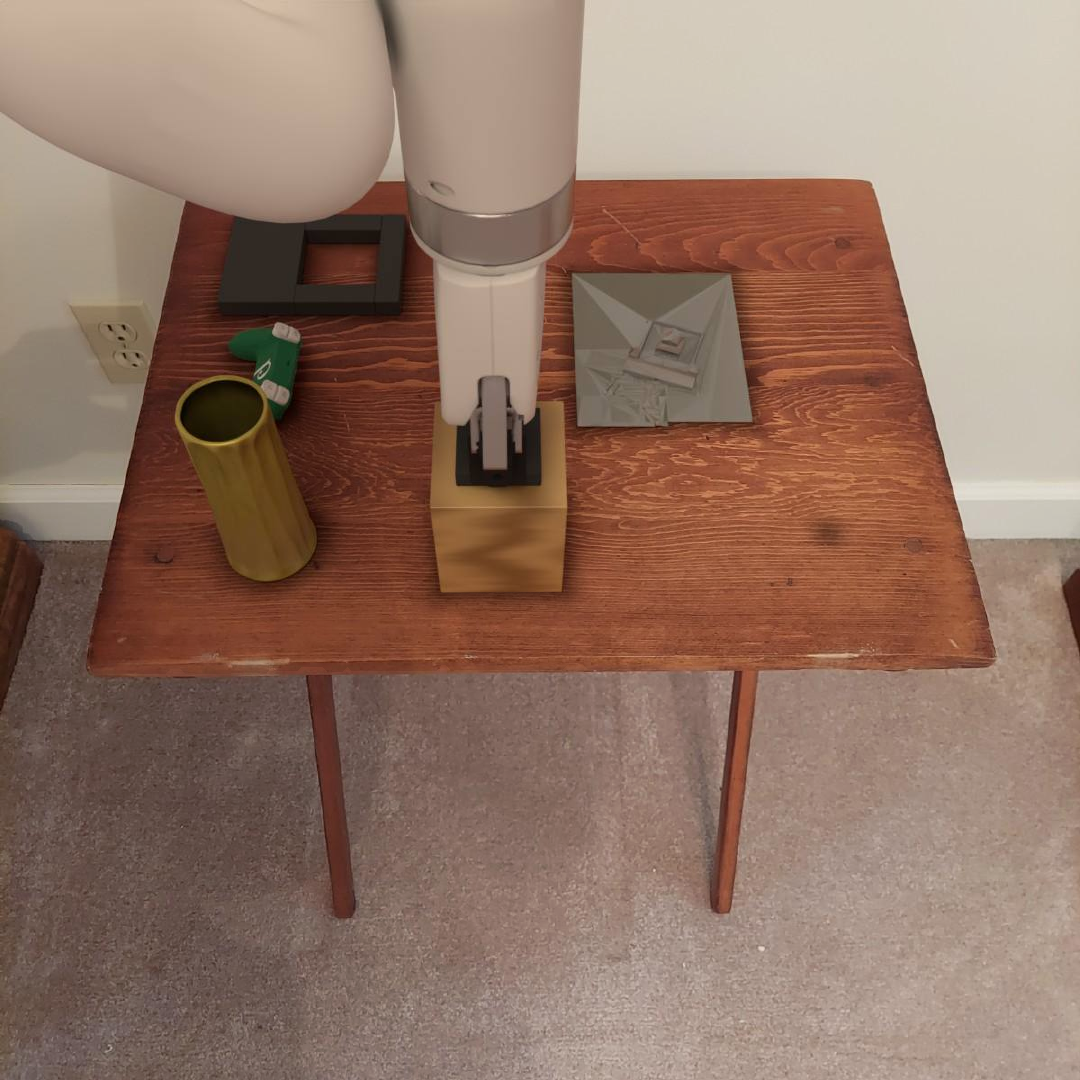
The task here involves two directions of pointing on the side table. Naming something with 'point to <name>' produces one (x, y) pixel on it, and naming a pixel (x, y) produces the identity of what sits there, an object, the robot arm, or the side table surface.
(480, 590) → the stand
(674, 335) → the grey flat square slab
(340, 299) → the base pad
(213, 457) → the vase
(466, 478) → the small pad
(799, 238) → the side table surface
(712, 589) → the side table surface
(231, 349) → the gaming controller
